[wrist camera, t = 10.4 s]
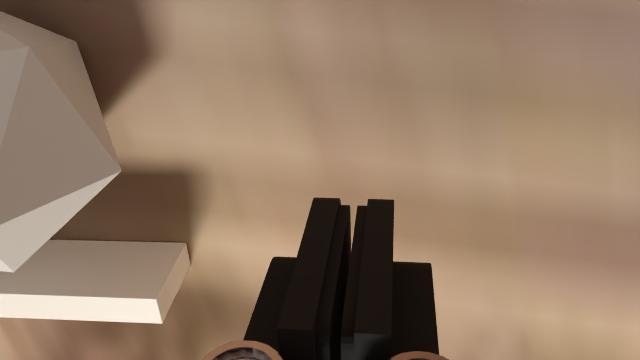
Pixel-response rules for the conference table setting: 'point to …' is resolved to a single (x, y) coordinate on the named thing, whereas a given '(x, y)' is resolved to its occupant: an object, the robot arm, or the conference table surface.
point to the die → (45, 138)
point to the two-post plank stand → (96, 281)
